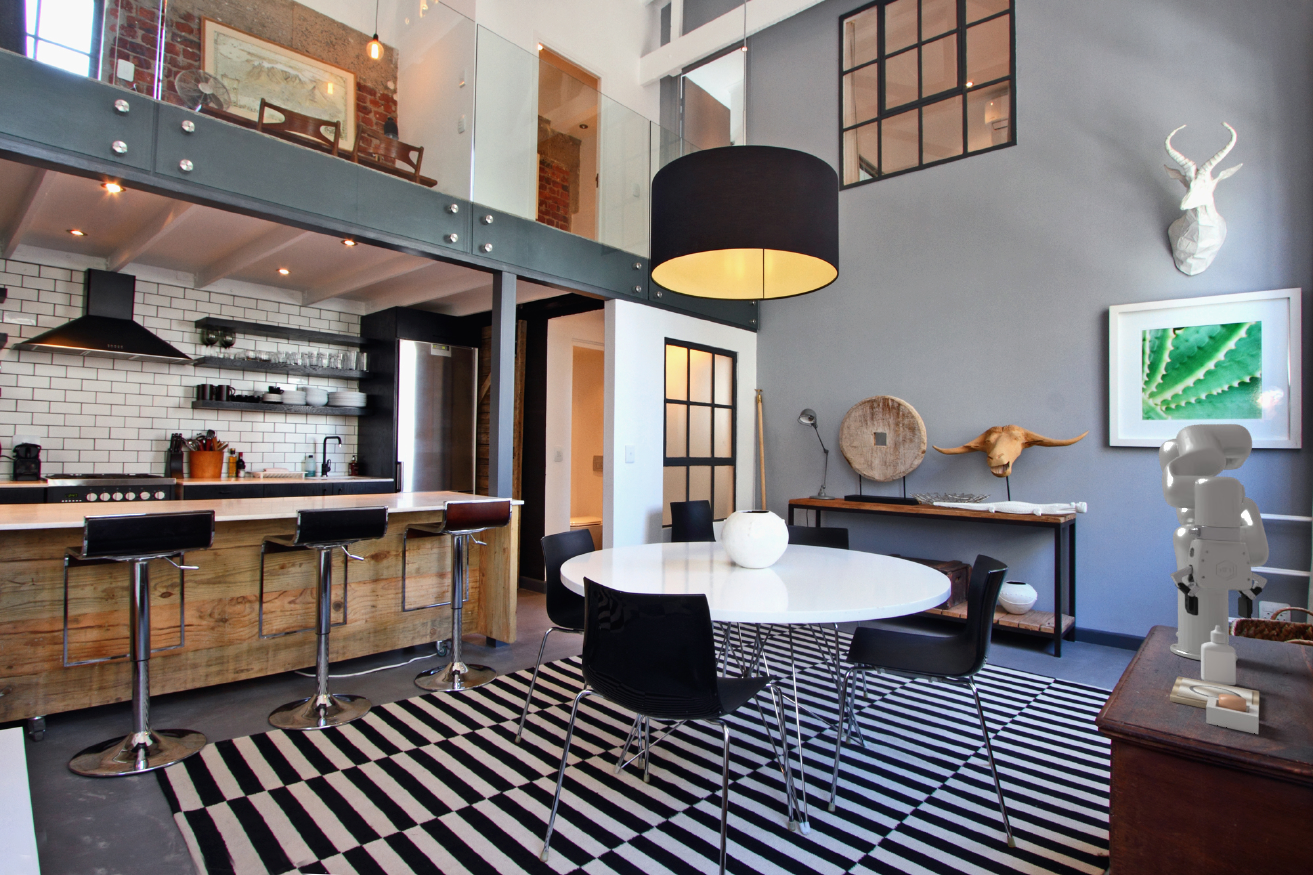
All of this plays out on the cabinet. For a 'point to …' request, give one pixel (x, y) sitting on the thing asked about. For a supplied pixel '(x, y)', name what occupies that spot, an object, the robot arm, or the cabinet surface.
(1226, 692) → the cream flat rectangular panel
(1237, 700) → the button
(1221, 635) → the eye dropper bottle
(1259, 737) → the cabinet surface
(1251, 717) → the button housing
